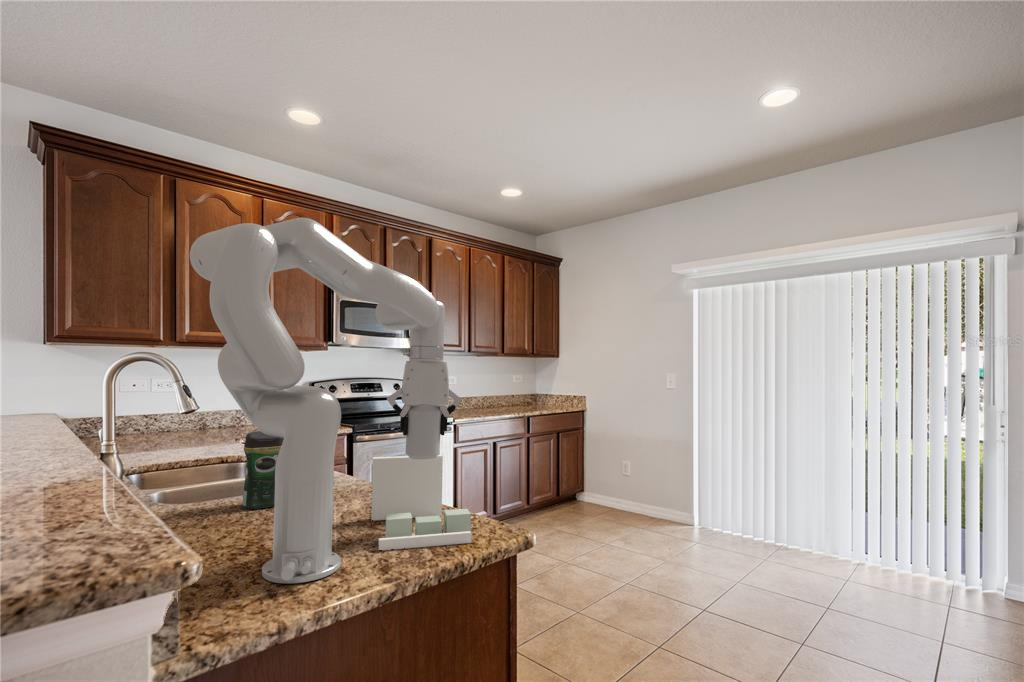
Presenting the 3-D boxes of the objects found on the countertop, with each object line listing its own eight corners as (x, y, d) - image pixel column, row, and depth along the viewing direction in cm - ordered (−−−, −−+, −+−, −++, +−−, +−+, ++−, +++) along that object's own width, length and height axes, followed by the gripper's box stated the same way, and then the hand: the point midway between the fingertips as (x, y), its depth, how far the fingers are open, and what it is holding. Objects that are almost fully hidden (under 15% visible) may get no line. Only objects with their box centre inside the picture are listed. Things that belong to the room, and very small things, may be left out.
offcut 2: (470, 538, 106) (470, 513, 106) (446, 540, 105) (446, 515, 105) (466, 532, 110) (467, 508, 110) (443, 534, 109) (443, 510, 109)
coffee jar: (282, 499, 135) (284, 428, 136) (286, 506, 128) (288, 431, 129) (241, 503, 130) (243, 430, 131) (242, 511, 123) (245, 433, 124)
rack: (471, 542, 103) (472, 472, 104) (373, 551, 98) (375, 477, 99) (452, 512, 124) (453, 454, 125) (371, 518, 119) (373, 457, 120)
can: (401, 459, 110) (403, 403, 111) (409, 454, 117) (411, 401, 118) (436, 460, 110) (438, 404, 111) (442, 455, 117) (444, 402, 118)
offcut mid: (441, 541, 105) (441, 521, 105) (416, 542, 103) (417, 522, 103) (438, 534, 108) (439, 515, 109) (414, 536, 107) (415, 517, 107)
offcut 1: (411, 543, 103) (412, 517, 103) (386, 545, 101) (386, 519, 102) (410, 536, 107) (410, 512, 107) (385, 538, 105) (385, 514, 106)
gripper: (387, 353, 109) (383, 437, 108) (467, 356, 114) (465, 436, 113) (385, 354, 116) (382, 433, 115) (461, 357, 121) (459, 432, 120)
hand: (423, 434), depth 114 cm, fingers closed on can, 7 cm apart
